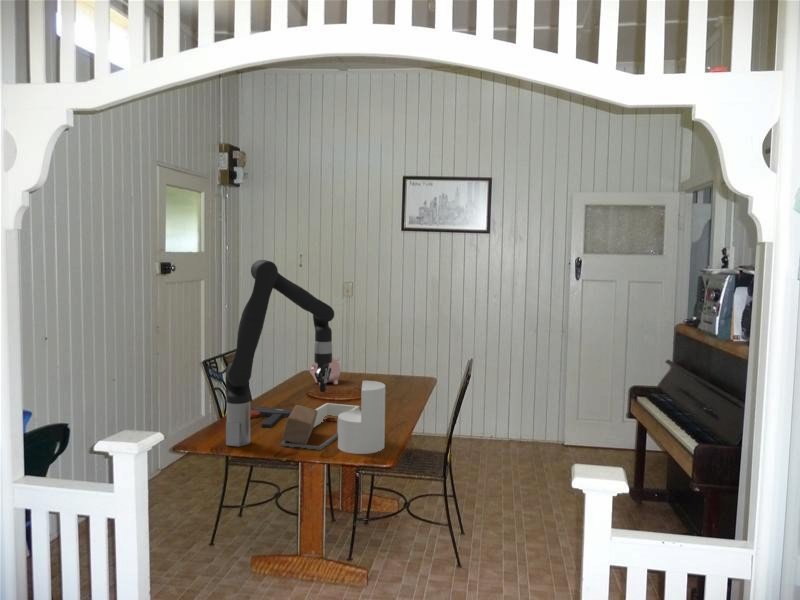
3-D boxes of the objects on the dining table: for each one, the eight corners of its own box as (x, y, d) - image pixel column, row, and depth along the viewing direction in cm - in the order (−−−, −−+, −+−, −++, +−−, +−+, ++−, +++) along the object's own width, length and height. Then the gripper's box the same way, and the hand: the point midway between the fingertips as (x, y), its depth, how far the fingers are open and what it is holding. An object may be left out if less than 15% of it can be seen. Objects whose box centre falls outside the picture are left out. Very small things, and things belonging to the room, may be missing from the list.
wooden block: (295, 403, 279) (287, 417, 259) (318, 409, 279) (311, 424, 259) (289, 425, 280) (281, 440, 260) (312, 431, 280) (305, 447, 260)
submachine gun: (226, 419, 291) (255, 405, 315) (227, 425, 291) (255, 411, 315) (291, 425, 282) (315, 411, 306) (291, 431, 282) (315, 417, 306)
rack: (339, 435, 276) (339, 419, 276) (304, 431, 281) (304, 415, 280) (359, 421, 299) (359, 406, 299) (326, 417, 304) (326, 403, 303)
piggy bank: (306, 381, 383) (306, 355, 381) (335, 379, 390) (335, 353, 389) (314, 387, 369) (314, 359, 368) (344, 384, 376) (344, 357, 375)
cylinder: (386, 440, 270) (387, 381, 268) (382, 454, 252) (383, 391, 250) (341, 438, 272) (342, 379, 270) (334, 453, 253) (334, 389, 251)
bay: (320, 450, 256) (320, 447, 256) (280, 445, 261) (280, 442, 260) (340, 435, 276) (340, 432, 276) (303, 431, 281) (303, 428, 281)
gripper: (325, 354, 269) (324, 395, 271) (337, 349, 282) (337, 389, 283) (308, 353, 271) (308, 394, 273) (321, 348, 284) (321, 387, 286)
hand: (323, 391), depth 278 cm, fingers closed
